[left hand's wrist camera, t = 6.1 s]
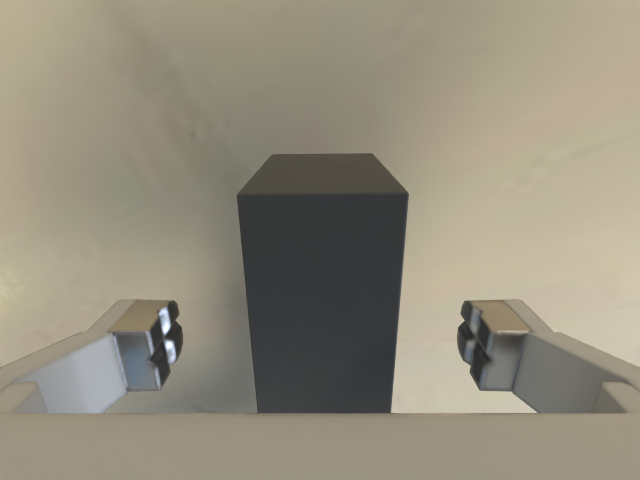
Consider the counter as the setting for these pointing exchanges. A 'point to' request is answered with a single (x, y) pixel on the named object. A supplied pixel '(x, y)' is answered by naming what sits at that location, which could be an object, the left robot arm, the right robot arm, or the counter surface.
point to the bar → (323, 281)
